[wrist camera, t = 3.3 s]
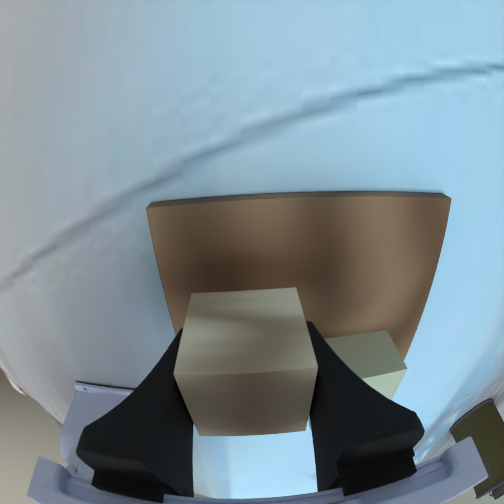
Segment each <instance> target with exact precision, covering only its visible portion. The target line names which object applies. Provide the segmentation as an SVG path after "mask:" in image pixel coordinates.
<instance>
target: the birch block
mask: <svg viewBox="0 0 504 504" xmlns="http://www.w3.org/2000/svg"><path fill="white" fill-rule="evenodd" d="M317 370H318V365H317V361H316V358H315V354H314V350H313V346H312V343H311V339H310V335H309V332H308V328H307V325H306V321H305V317H304V314H303V310H302V307H301V303H300V300H299V296H298V293H297V289H296V287H293V288H279V289H264V290H248V291H230V292H210V293H191V297H190V302H189V306H188V310H187V314H186V319H185V323H184V327H183V332H182V336H181V341H180V346H179V350H178V355H177V360H176V364H175V369H174V377H175V379H176V382H177V384H178V387H179V389H180V392H181V394H182V397H183V399H184V402H185V404H186V406H187V409H188V411H189V413H190V416H191V418H192V420H193V422H194V425H195V427H196V429H197V431H198V433H199V435H200V436H246V435H265V434H278V433H288V432H297V431H305V430H306V425H307V421H308V416H309V412H310V407H311V402H312V397H313V392H314V386H315V381H316V376H317Z"/></svg>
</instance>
